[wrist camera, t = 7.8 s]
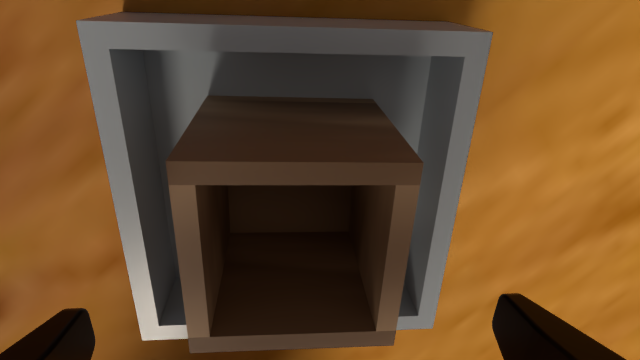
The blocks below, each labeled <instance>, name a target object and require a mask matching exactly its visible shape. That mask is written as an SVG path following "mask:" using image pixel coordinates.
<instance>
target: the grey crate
mask: <svg viewBox="0 0 640 360" xmlns="http://www.w3.org/2000/svg"><path fill="white" fill-rule="evenodd" d="M76 23H77V28H78V33H79V38H80V43H81V47H82V52H83V57H84V62H85V67H86V71H87V76H88V81H89V86H90V91H91V96H92V100H93V105H94V110H95V115H96V120H97V125H98V129H99V134H100V139H101V144H102V149H103V153H104V158H105V163H106V168H107V173H108V178H109V182H110V187H111V192H112V197H113V202H114V207H115V211H116V216H117V221H118V226H119V231H120V236H121V240H122V245H123V250H124V255H125V260H126V264H127V269H128V274H129V279H130V284H131V289H132V293H133V298H134V303H135V308H136V313H137V318H138V322H139V327H140V332H141V337H142V340H166V339H188V334H187V326H186V318H185V311H184V303H183V295H182V287H181V279H180V272H179V264H178V256H177V248H176V240H175V232H174V225H173V217H172V209H171V201H170V193H169V186H168V178H167V170H166V162H165V161H166V160H167V158H168V156H169V155H170V153H171V152H172V150H173V149H174V147H175V146H176V144H177V142H178V141H179V139H180V138H181V136H182V135H183V133H184V131H185V130H186V128H187V127H188V125H189V124H190V122H191V121H192V119H193V117H194V116H195V114H196V113H197V111H198V110H199V108H200V106H201V105H202V103H203V102H204V100H205V99H206V97H207V96H208V95H211V96H258V97H304V98H351V99H373V100H374V101H375V102H376V103H377V105H378V106H379V107H380V108H381V110H382V111H383V112H384V113H385V115H386V116H387V117H388V118H389V120H390V121H391V122H392V124H393V125H394V126H395V127H396V129H397V130H398V131H399V132H400V134H401V135H402V136H403V137H404V139H405V140H406V141H407V142H408V144H409V145H410V146H411V147H412V149H413V150H414V151H415V152H416V154H417V155H418V156H419V158H420V159H421V160H422V161H423V163H424V165H423V171H422V177H421V183H420V189H419V195H418V201H417V207H416V213H415V219H414V225H413V231H412V237H411V243H410V249H409V255H408V261H407V267H406V273H405V279H404V285H403V291H402V297H401V303H400V310H399V316H398V322H397V328H396V330H406V329H430V328H433V324H434V319H435V314H436V309H437V304H438V300H439V295H440V290H441V285H442V280H443V275H444V270H445V265H446V260H447V255H448V251H449V246H450V241H451V236H452V231H453V226H454V221H455V216H456V211H457V206H458V201H459V197H460V192H461V187H462V182H463V177H464V172H465V167H466V162H467V157H468V152H469V148H470V143H471V138H472V133H473V128H474V123H475V118H476V113H477V108H478V103H479V98H480V94H481V89H482V84H483V79H484V74H485V69H486V64H487V59H488V54H489V49H490V45H491V40H492V35H493V32H490V31H486V30H482V29H477V28H473V27H469V26H465V25H460V24H456V23H452V22H443V21H410V20H376V19H343V18H310V17H277V16H243V15H210V14H177V13H144V12H119V13H113V14H108V15H103V16H97V17H92V18H87V19H82V20H76Z"/></svg>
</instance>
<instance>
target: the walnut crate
mask: <svg viewBox="0 0 640 360" xmlns="http://www.w3.org/2000/svg"><path fill="white" fill-rule="evenodd" d="M165 162H166V170H167V178H168V186H169V193H170V201H171V209H172V217H173V225H174V232H175V240H176V248H177V256H178V264H179V272H180V279H181V287H182V295H183V303H184V311H185V318H186V326H187V334H188V342H189V350H190V353H207V352H234V351H260V350H286V349H312V348H339V347H365V346H391V345H394V340H395V334H396V328H397V322H398V316H399V310H400V303H401V297H402V291H403V285H404V279H405V273H406V267H407V261H408V255H409V249H410V243H411V237H412V231H413V225H414V219H415V213H416V207H417V201H418V195H419V189H420V183H421V177H422V171H423V165H424V163H423V161H422V160H421V159H420V158H419V156H418V155H417V154H416V152H415V151H414V150H413V149H412V147H411V146H410V145H409V144H408V142H407V141H406V140H405V139H404V137H403V136H402V135H401V134H400V132H399V131H398V130H397V129H396V127H395V126H394V125H393V124H392V122H391V121H390V120H389V118H388V117H387V116H386V115H385V113H384V112H383V111H382V110H381V108H380V107H379V106H378V105H377V103H376V102H375V101H374V100H373V99H351V98H304V97H258V96H211V95H208V96H207V97H206V99H205V100H204V102H203V103H202V105H201V106H200V108H199V110H198V111H197V113H196V114H195V116H194V117H193V119H192V121H191V122H190V124H189V125H188V127H187V128H186V130H185V131H184V133H183V135H182V136H181V138H180V139H179V141H178V142H177V144H176V146H175V147H174V149H173V150H172V152H171V153H170V155H169V156H168V158H167V160H166V161H165Z"/></svg>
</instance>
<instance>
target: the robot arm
mask: <svg viewBox="0 0 640 360" xmlns="http://www.w3.org/2000/svg"><path fill="white" fill-rule="evenodd" d="M492 328H493V332H494V335H495V337H496V340H497V343H498V345H499V348H500V351H501V353H502V356H503V359H504V360H626V359H624V358H623V357H621V356H620V355H618V354H616V353H615V352H613V351H612V350H610V349H608V348H607V347H605V346H604V345H602V344H600V343H599V342H597V341H595V340H594V339H592V338H591V337H589V336H587V335H586V334H584V333H583V332H581V331H579V330H578V329H576V328H575V327H573V326H571V325H570V324H568V323H567V322H565V321H563V320H562V319H560V318H558V317H557V316H555V315H554V314H552V313H550V312H549V311H547V310H546V309H544V308H542V307H541V306H539V305H538V304H536V303H534V302H533V301H531V300H530V299H528V298H526V297H525V296H523V295H521V294H518V293H511V294H502V295H501V296H500V297H499V299H498V303H497V306H496V310H495V313H494V317H493V321H492ZM94 347H95V335H94V331H93V328H92V324H91V320H90V317H89V314H88V311H87V310H86V309H84V308H71V309H64V310H62V311H60V312H59V313H57V314H56V315H55V316H53V317H52V318H50V319H49V320H47V321H46V322H45V323H43V324H42V325H40V326H39V327H38V328H36V329H35V330H33V331H32V332H30V333H29V334H28V335H26V336H25V337H23V338H22V339H21V340H19V341H18V342H16V343H15V344H13V345H12V346H11V347H9V348H8V349H6V350H5V351H4V352H2V353H1V354H0V360H91V357H92V354H93V351H94Z"/></svg>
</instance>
